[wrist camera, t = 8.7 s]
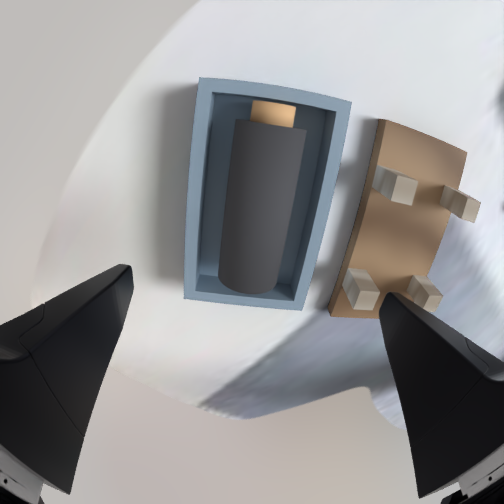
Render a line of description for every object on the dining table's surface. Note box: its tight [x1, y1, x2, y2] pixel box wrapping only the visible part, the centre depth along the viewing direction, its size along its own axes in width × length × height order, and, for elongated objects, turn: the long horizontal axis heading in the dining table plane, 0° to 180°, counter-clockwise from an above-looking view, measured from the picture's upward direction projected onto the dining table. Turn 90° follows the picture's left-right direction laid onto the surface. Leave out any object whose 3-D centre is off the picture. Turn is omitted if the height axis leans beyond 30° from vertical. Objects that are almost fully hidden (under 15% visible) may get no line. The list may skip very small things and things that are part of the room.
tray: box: [184, 77, 352, 311], centre depth 18 cm, size 15×9×3 cm, turn 172°
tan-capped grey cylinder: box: [218, 100, 307, 294], centre depth 17 cm, size 11×4×4 cm, turn 172°
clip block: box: [328, 119, 481, 319], centre depth 19 cm, size 16×8×4 cm, turn 172°
